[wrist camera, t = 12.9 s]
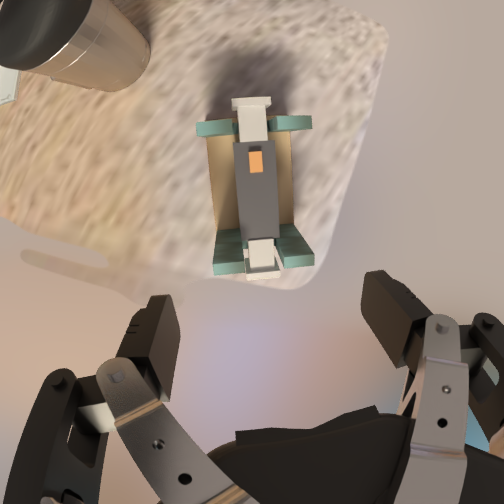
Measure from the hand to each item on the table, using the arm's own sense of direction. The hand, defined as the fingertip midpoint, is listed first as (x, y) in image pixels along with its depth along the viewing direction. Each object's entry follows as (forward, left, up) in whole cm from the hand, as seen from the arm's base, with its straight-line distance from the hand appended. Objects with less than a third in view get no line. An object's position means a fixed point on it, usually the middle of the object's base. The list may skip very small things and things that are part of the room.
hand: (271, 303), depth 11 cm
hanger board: (+1, +1, -26) cm, 26 cm away
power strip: (+1, +1, -23) cm, 23 cm away
